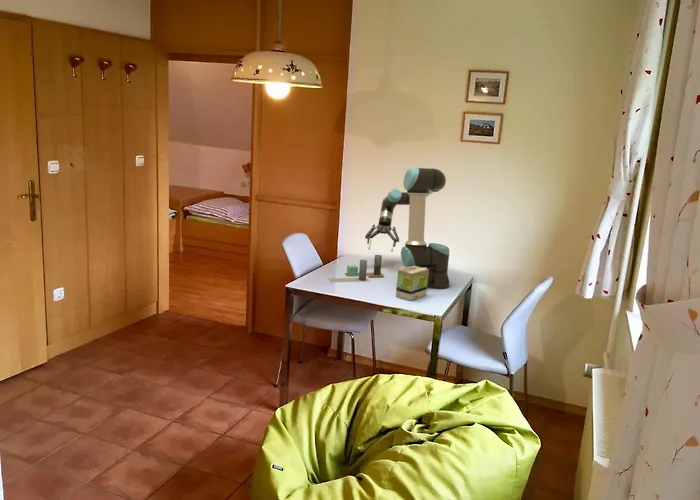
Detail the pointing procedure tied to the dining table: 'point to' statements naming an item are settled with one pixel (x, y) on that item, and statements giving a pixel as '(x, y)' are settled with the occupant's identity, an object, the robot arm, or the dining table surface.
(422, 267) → the robot arm
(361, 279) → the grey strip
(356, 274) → the teal block
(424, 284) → the tea box
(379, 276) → the tan and grey stand
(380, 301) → the dining table surface
